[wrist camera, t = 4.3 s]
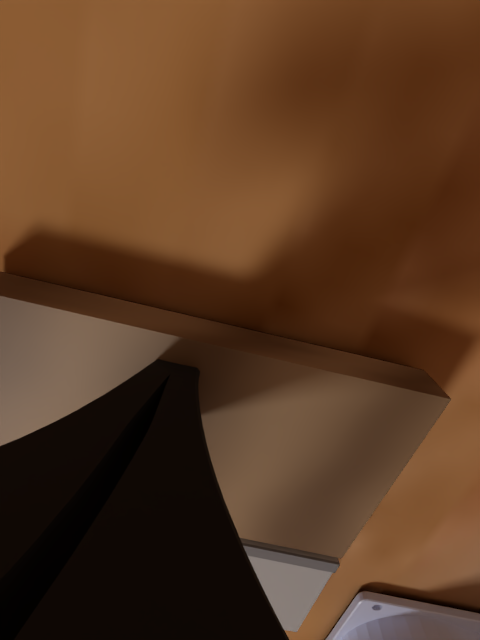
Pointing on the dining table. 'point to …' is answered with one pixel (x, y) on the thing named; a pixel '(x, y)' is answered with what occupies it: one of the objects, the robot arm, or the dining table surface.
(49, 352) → the walnut plank
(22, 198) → the dining table surface
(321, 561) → the grey board
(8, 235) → the dining table surface
